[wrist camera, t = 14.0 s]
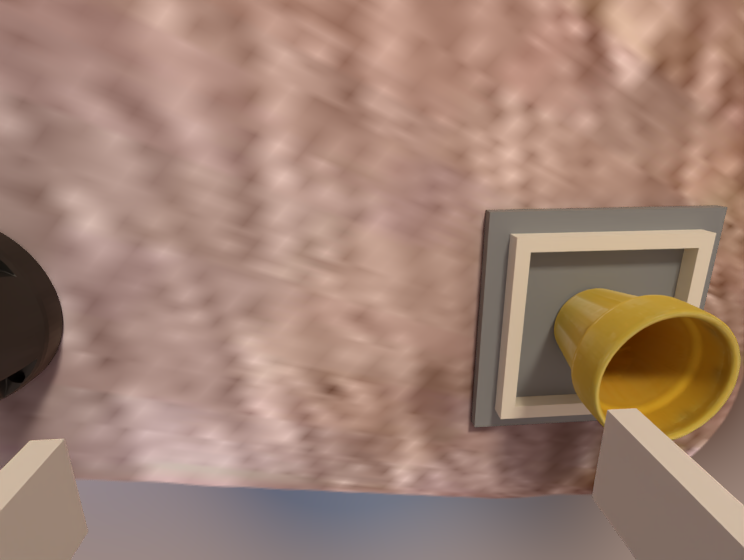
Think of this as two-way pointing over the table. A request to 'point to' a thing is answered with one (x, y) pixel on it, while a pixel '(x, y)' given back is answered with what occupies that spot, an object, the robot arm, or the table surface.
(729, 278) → the table surface
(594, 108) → the table surface
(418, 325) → the table surface
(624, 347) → the plant pot
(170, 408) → the table surface
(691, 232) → the board
